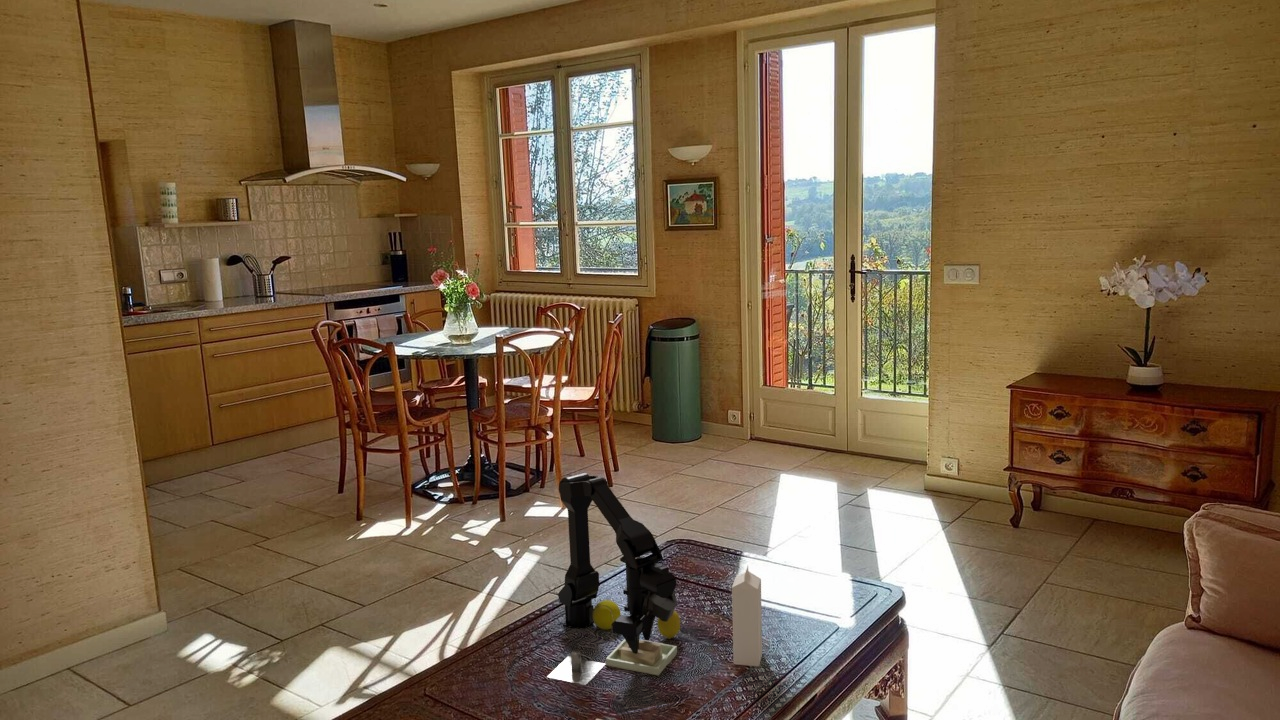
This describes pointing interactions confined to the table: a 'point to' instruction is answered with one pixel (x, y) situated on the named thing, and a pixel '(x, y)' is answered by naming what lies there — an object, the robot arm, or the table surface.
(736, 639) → the milk
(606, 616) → the tennis ball
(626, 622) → the robot arm
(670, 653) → the tray
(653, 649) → the wooden rectangular frame
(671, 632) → the lemon
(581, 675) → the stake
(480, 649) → the table surface
